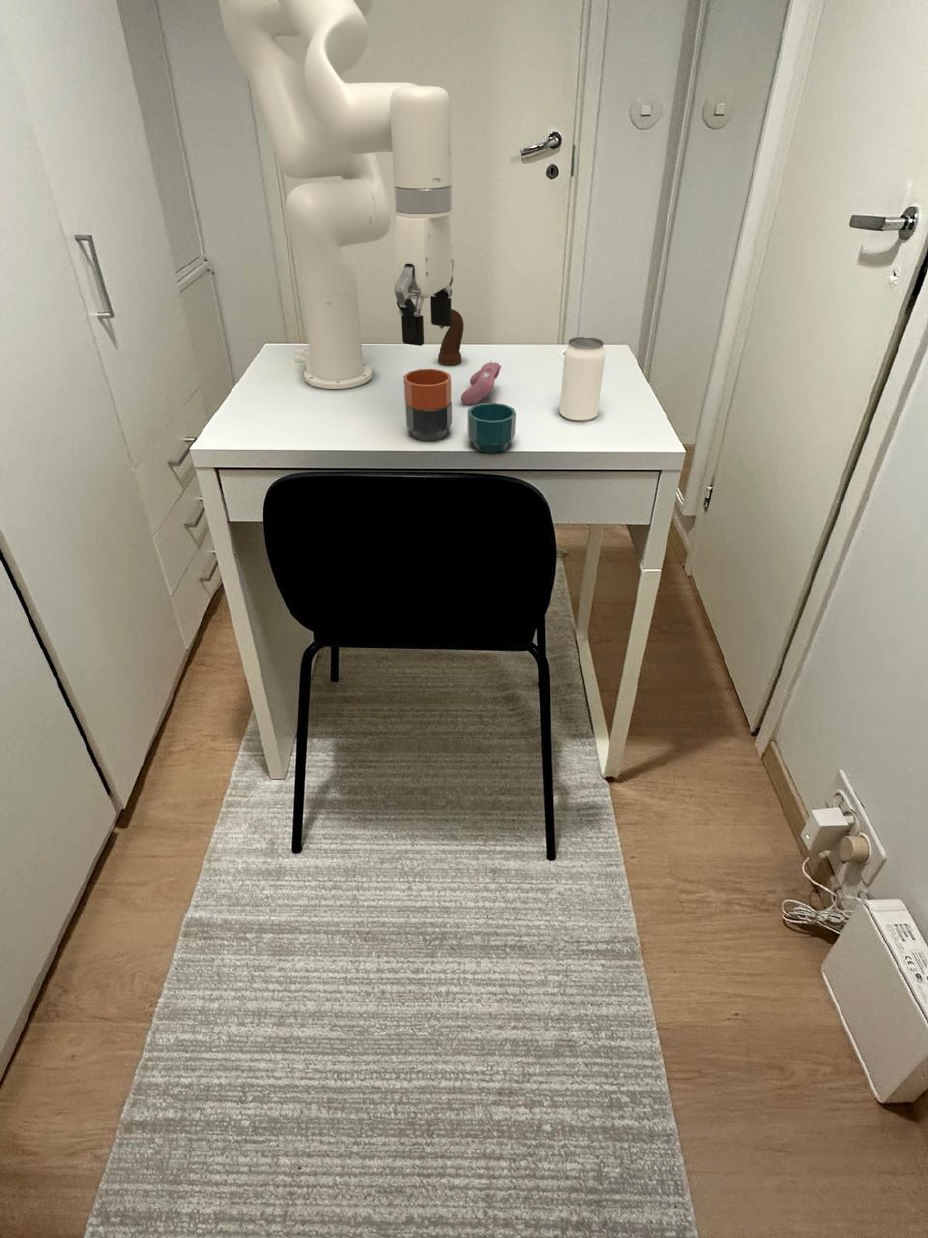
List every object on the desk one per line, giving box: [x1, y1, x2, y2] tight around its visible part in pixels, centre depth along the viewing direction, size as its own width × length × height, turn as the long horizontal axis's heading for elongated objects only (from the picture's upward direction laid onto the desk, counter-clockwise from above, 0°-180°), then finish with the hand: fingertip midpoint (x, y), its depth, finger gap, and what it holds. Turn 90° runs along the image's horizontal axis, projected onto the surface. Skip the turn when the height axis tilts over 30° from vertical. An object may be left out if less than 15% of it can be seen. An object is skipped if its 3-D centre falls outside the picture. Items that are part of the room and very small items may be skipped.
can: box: [559, 336, 606, 422], centre depth 119 cm, size 6×6×12 cm
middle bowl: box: [402, 368, 452, 410], centre depth 113 cm, size 7×7×5 cm
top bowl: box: [466, 402, 517, 454], centre depth 112 cm, size 7×7×5 cm
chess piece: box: [437, 308, 465, 367], centre depth 140 cm, size 5×5×10 cm
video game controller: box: [460, 359, 502, 405], centre depth 127 cm, size 10×5×7 cm, turn 168°
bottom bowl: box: [404, 400, 453, 442], centre depth 115 cm, size 7×7×5 cm
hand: (427, 334), depth 107 cm, fingers open, 9 cm apart
